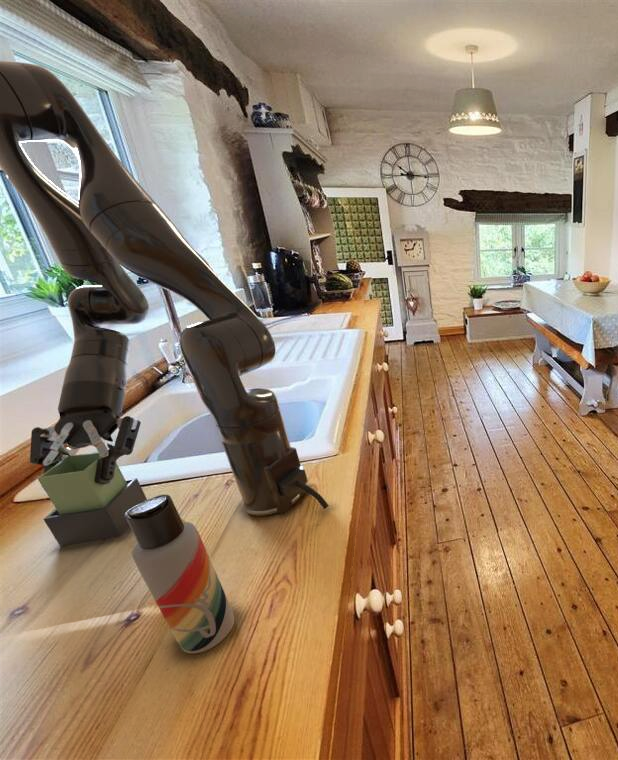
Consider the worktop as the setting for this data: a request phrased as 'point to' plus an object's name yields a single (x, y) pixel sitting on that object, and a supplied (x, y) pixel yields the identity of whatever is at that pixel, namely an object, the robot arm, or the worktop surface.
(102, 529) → the charcoal bin
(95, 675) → the worktop surface
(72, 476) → the green bin
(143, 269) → the robot arm
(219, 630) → the lotion bottle
